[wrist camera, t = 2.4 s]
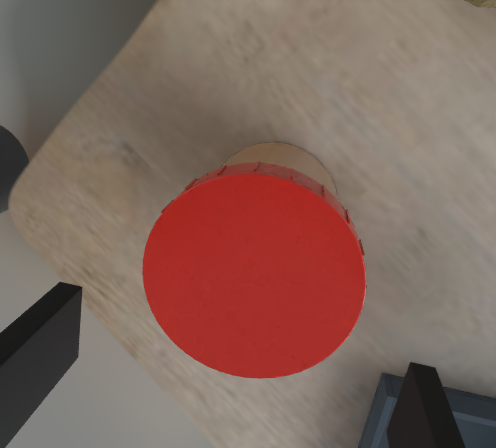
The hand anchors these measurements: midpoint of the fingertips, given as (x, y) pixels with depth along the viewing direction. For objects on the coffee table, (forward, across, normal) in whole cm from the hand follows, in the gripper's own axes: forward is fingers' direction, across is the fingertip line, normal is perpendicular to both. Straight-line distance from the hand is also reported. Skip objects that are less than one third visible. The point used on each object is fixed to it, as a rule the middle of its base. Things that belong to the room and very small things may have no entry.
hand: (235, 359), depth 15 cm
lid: (+6, 0, 0) cm, 6 cm away
